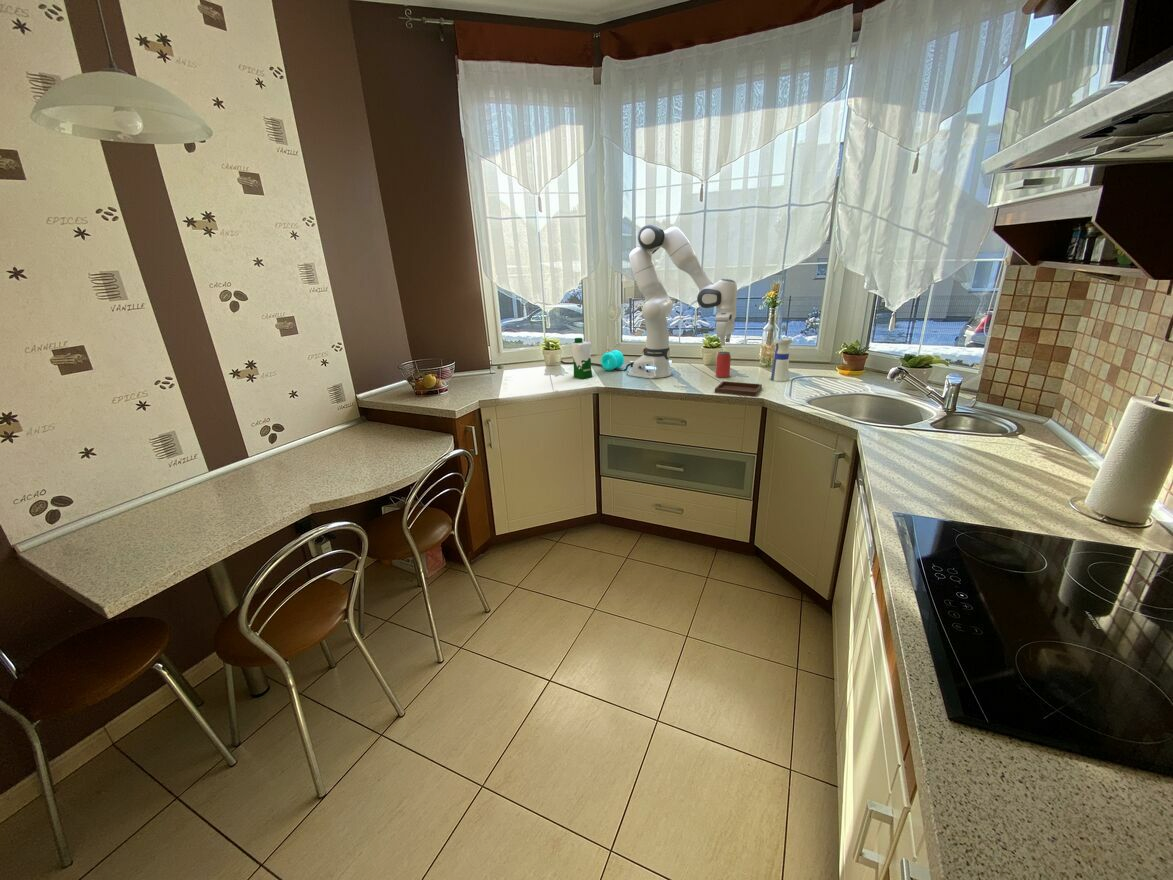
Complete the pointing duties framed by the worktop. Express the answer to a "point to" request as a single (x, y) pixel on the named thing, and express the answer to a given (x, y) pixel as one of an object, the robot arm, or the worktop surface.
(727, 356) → the beer can
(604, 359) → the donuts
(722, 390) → the tray
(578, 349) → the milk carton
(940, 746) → the worktop surface
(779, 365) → the water bottle
